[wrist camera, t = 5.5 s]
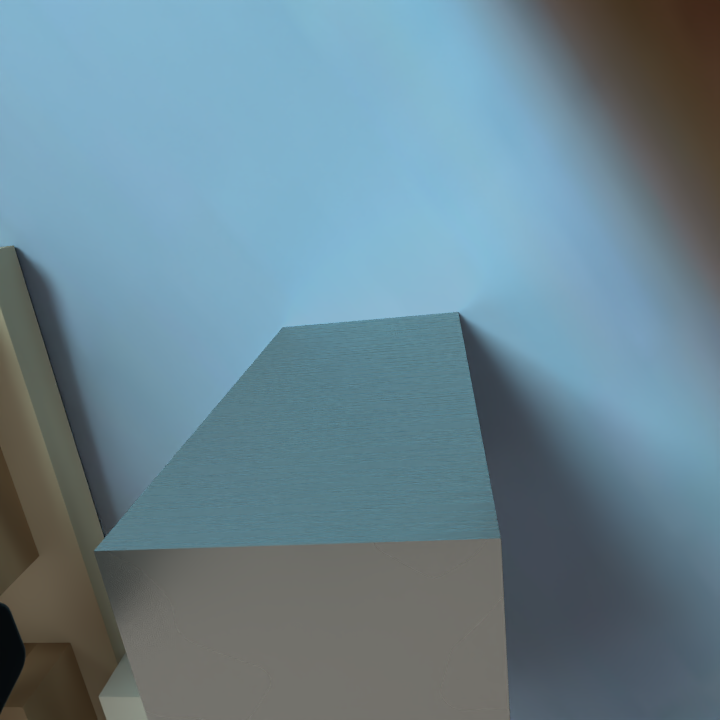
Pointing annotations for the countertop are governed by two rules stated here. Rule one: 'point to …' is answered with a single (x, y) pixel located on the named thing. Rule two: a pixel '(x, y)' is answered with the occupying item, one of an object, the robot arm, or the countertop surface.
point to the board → (47, 530)
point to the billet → (322, 541)
